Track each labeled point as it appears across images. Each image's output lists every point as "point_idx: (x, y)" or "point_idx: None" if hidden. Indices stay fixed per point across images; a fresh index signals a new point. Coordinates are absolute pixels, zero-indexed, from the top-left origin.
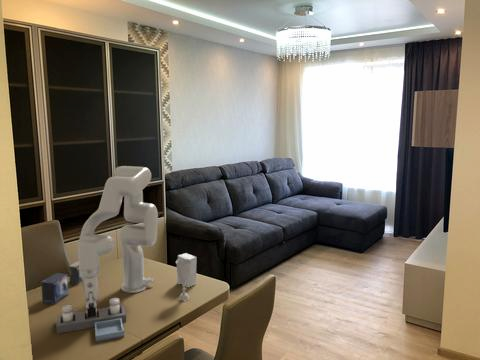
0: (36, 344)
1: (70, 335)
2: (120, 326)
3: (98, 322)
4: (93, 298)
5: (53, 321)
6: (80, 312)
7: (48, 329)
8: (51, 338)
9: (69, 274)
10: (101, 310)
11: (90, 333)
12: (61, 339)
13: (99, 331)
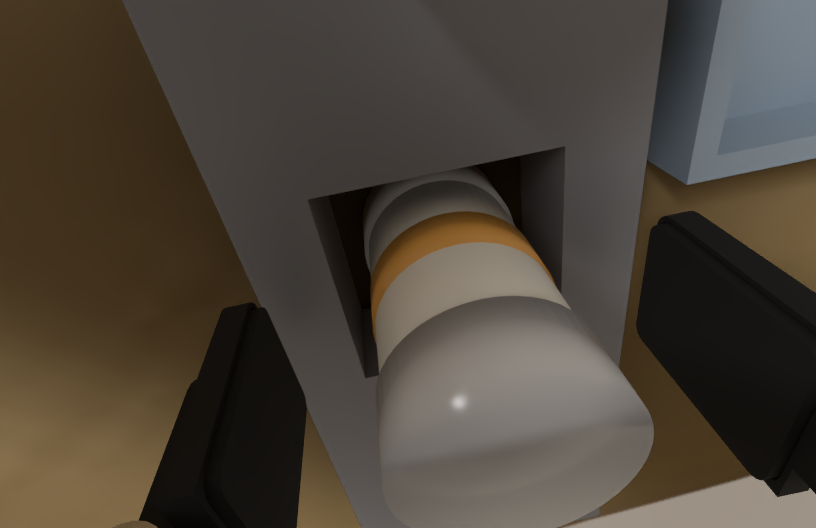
0: (662, 500)
1: (652, 357)
2: None
3: (709, 124)
4: (228, 510)
5: (353, 516)
6: (340, 424)
7: None
8: None
9: None
10: (297, 146)
11: (722, 184)
12: (683, 399)
13: (801, 68)
